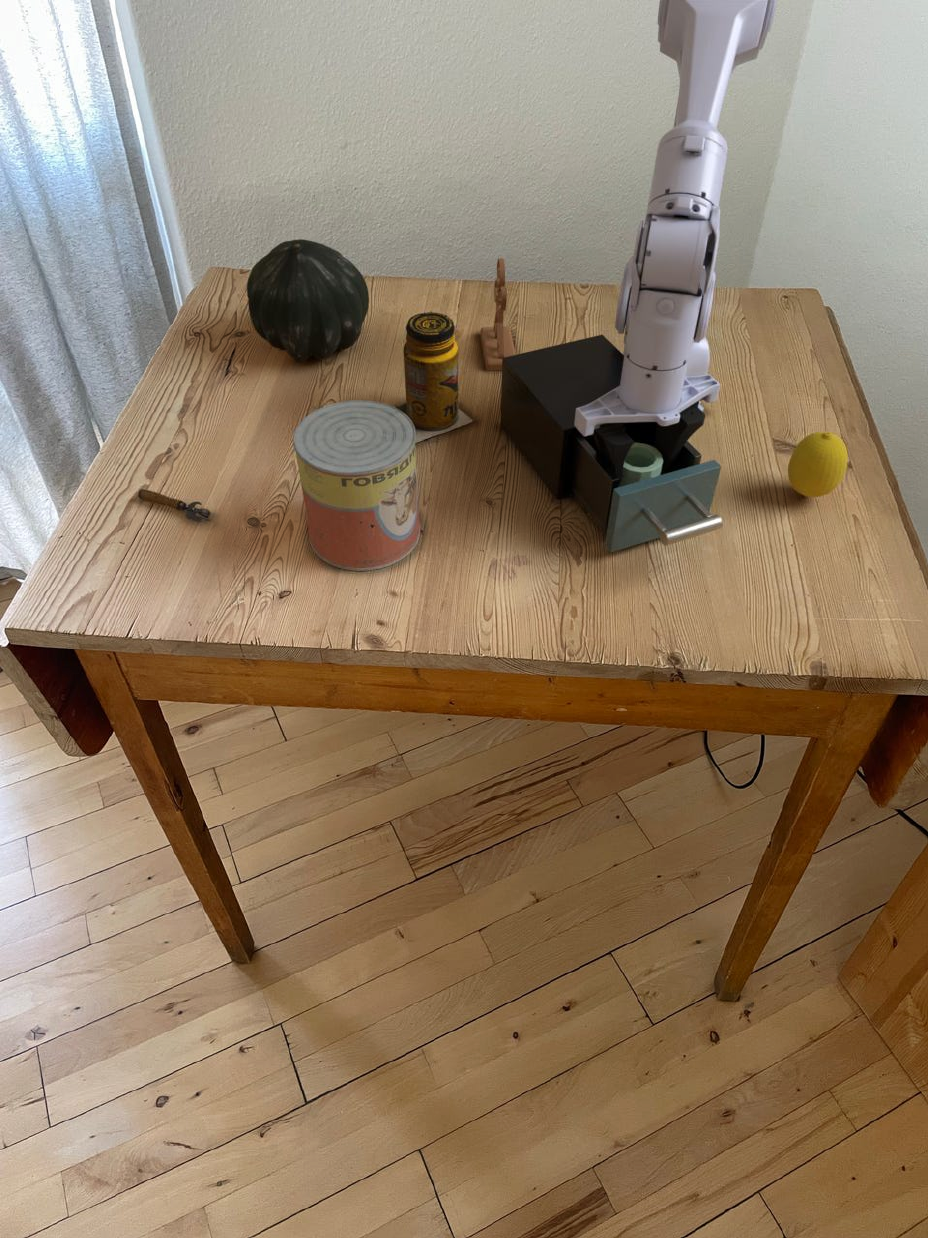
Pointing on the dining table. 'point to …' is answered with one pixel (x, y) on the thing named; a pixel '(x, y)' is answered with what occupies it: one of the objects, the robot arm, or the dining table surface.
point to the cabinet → (554, 400)
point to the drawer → (643, 493)
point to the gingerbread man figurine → (497, 327)
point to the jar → (641, 464)
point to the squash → (307, 299)
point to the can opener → (176, 505)
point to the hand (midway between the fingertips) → (635, 474)
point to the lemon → (817, 464)
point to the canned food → (359, 483)
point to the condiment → (431, 376)
